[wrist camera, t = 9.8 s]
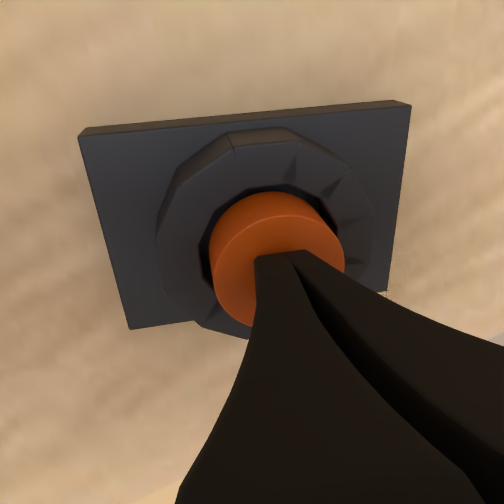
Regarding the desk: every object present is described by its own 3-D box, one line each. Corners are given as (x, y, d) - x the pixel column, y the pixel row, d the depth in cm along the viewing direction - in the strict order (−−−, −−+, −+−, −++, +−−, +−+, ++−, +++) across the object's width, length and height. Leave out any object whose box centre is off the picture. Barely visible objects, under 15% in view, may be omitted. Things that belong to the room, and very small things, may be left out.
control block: (132, 311, 15) (123, 366, 13) (84, 127, 12) (59, 152, 9) (374, 275, 17) (411, 319, 14) (394, 99, 13) (448, 114, 11)
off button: (214, 302, 13) (220, 339, 11) (201, 198, 11) (206, 224, 9) (322, 287, 13) (341, 319, 12) (326, 184, 11) (349, 206, 10)
